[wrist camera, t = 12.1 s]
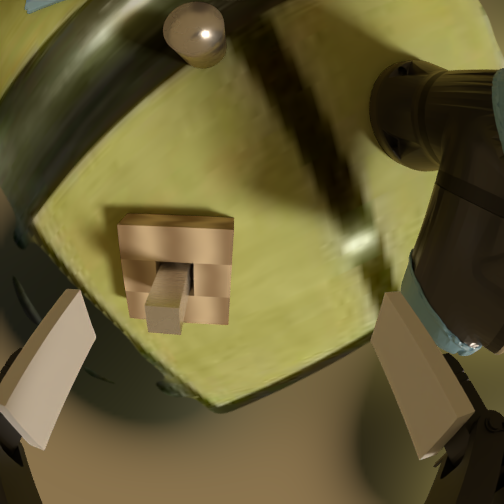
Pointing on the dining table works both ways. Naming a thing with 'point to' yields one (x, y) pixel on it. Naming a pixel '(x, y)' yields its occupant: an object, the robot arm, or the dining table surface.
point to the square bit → (169, 298)
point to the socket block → (183, 251)
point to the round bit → (196, 34)
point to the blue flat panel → (38, 4)
